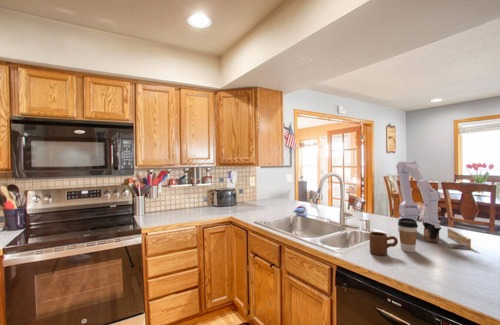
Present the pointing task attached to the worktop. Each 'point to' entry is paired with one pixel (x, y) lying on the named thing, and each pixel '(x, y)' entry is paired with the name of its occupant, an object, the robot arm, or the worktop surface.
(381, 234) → the mug
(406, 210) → the robot arm
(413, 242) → the coffee cup
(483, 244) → the worktop surface
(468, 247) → the board
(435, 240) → the cabinet block
